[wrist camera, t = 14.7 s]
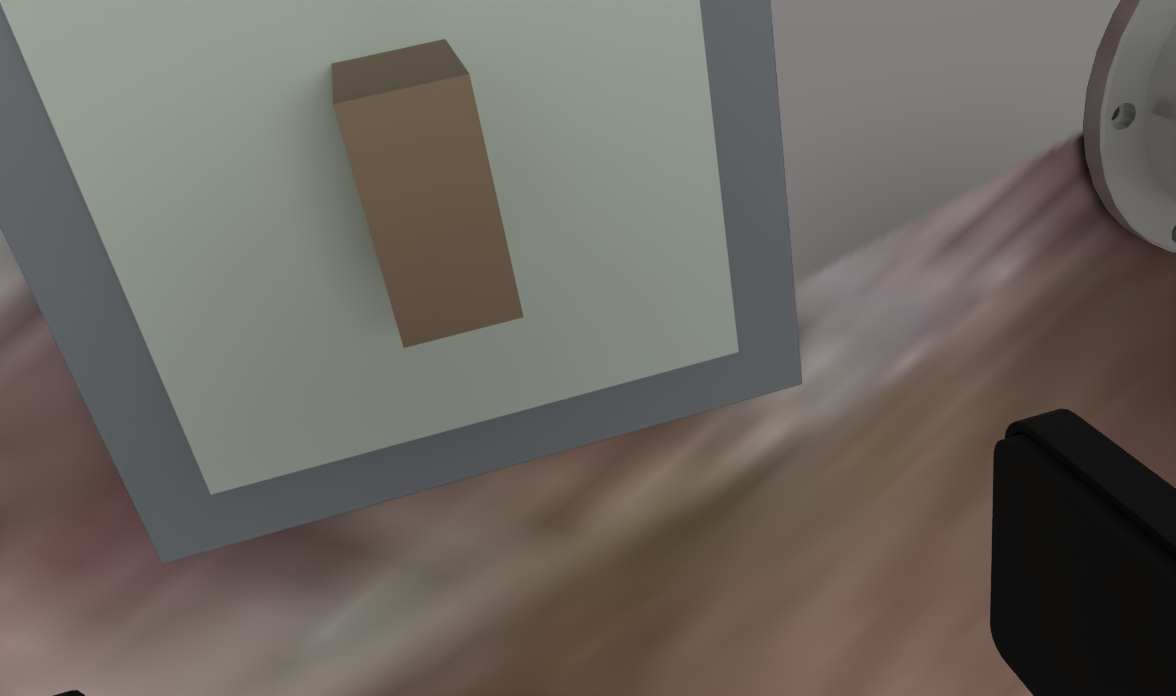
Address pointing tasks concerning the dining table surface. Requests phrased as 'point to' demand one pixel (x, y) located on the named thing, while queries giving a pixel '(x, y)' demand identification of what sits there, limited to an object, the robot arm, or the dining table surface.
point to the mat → (206, 522)
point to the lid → (390, 206)
